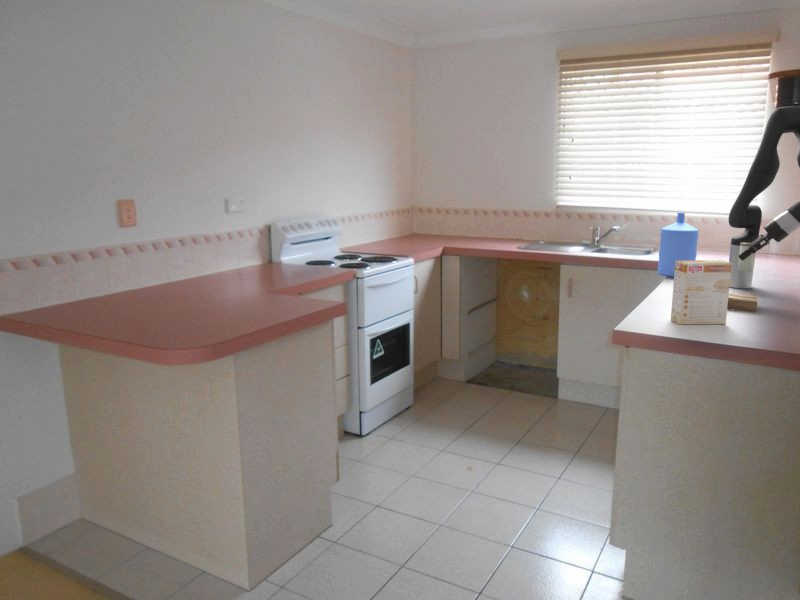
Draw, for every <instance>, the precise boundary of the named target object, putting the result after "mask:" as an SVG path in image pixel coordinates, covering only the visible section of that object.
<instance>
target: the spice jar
mask: <svg viewBox="0 0 800 600" xmlns="http://www.w3.org/2000/svg"><path fill="white" fill-rule="evenodd" d="M750 246H752V243H748V242H742V243H740V253H739V255H740V254H742V253H743V252H744V251H746V250H747V249H748V248H749V247H750ZM752 248H753V249H754V250H755V247H752ZM753 262H754V263H755V261H754V254H751V255H750V256H748V257H747V258H746V259H744V260H741V259H740V258H739V262H738V270H739V271H746V272H750V271H753V272H754V270H753Z"/></svg>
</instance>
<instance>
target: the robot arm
mask: <svg viewBox="0 0 800 600" xmlns="http://www.w3.org/2000/svg"><path fill="white" fill-rule="evenodd" d="M789 133H793V134H794V136H795V137H796V139H797V141H798V150H797V156H796V160H797V165H798V168H799V169H800V105H788V106H780V107H779V106H778V107H776V108H774V109H773V110H772V111H771V113H770V115H769V116H768V118H767V121H766V125H765V128H764V132H763V135H762V137H761V141H760V145H759V147H758V149H757V153H756V155H755V156H754V159H753V162H752V164H751V166H750V168H749V171H748V173H747V175H746V179H745V181H744V183H743V186H742V187H741V190H740V191H739V194H738V196H737V197H736V199H735V201H734V202H733V204H732V206H731V209H730V211H729V214H728V224H729V226H730V227H732V228H734V229H744V230H743V232H741V233H740V234H738V235H736V236H732V238H731V240H730V248H729V259H728V262H729V263H732V266H731V276H730V286H729V288H732V289H733V288H735V289H751V288H752V286H753V277H754V269H755V262H756V261H755V260H756V253H757V252H759V251H760V250H762V249H763V248H765V247H766V246H768V245H769V244H770V241H771V240H774V241H775V242H776V243H780V242H782V241H783V240H784V239H785V238H787V237H789V236H790V235H791V234H792V233H794V232H795V231H797V229H798V228H800V200H798V201H797V202H795V203H794V204H793V205H791V206H790V207H789V208H788V209H786V210H785V211H783V212H781V213H780V214H778V215H777V216H775V217H774V218H773V219H772V220H771V221H769V222H768V223H767V224H765V225H764V226H763V229H764V231H765V232H766V233H765V234H760V231H761V224H762V216H763V214H762V209H761V207H760V206H759V205H756V204H755V205H754V204H751V203H752V202H753V200H755V199H756V197H758V196H759V195H760V194H762V192H764V191H765V190H766V189H768V188H769V187H770V186H771V185H772V183H773V182H774V180H775V178H776V176H777V174H778V171H779V170H780V165H781V164H780V157H779V154H778V146H779V141H780V139H781V137H782V136H783V134H789ZM742 242H748V243H752V246H750V247H749V248H748V249H747V250H746V251H744V252H743V253H742V254H740V255H739V253H740V243H742ZM752 247H755V250H754V249H753V248H752ZM751 254H754V262H753V271H750V272H746V271H739V270H738V262H739V258H740V259H741V260H744V259H746V258H747V257H748V256H750V255H751Z"/></svg>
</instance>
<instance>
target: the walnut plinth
mask: <svg viewBox="0 0 800 600" xmlns="http://www.w3.org/2000/svg"><path fill="white" fill-rule="evenodd" d="M757 305H758V295H755V294H745V293H734V292H733V293H732V292H729V296H728V306H727V310H731V309H734V310H733V311H741V310H743V311H744V312H752V313H755V312H757V307H758V306H757ZM743 311H742V312H743Z"/></svg>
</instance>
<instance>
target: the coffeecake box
mask: <svg viewBox="0 0 800 600" xmlns="http://www.w3.org/2000/svg"><path fill="white" fill-rule="evenodd" d="M731 266H732V263H729V261H725V260H723V259H713V260H711V259H710V260H709V259H708V260H702V259H701V260H699V259H698V260H686V261H676V263H675V274H674V277H673V287H672V288H673V290H672V299H671V310H670V311H671V312H670V313H671V314H670V321H672V320H673V321H672V322H674V323H676V324H678V325H726V323H727V315H728V309H727V306H728V296H729V293H730V287H729V286H730V276H731Z"/></svg>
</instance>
